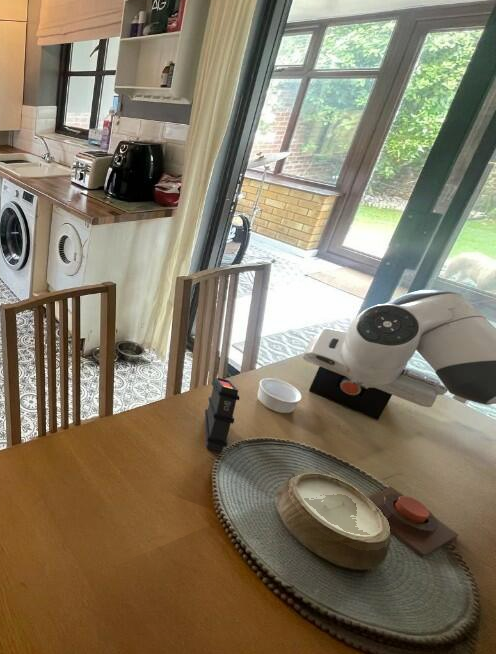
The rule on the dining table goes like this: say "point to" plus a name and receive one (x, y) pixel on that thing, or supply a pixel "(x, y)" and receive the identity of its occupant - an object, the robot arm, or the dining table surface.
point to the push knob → (350, 387)
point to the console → (364, 402)
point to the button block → (412, 525)
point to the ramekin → (278, 395)
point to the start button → (412, 509)
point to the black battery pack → (220, 414)
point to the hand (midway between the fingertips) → (360, 382)
